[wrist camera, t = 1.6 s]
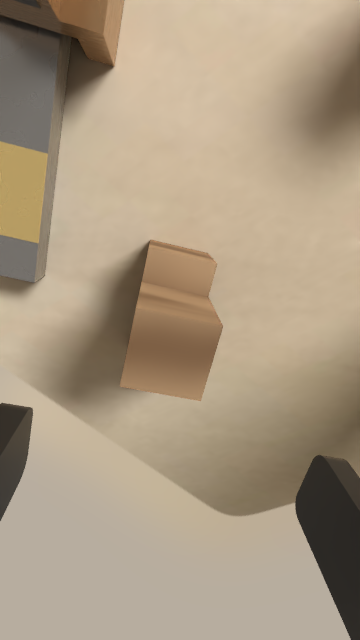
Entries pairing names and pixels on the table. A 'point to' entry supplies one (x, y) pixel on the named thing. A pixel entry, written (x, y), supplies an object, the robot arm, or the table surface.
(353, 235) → the table surface
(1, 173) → the rail
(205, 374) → the tan stepped block
